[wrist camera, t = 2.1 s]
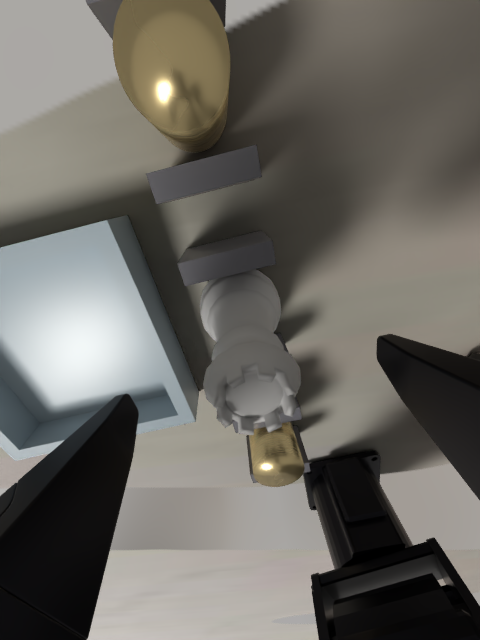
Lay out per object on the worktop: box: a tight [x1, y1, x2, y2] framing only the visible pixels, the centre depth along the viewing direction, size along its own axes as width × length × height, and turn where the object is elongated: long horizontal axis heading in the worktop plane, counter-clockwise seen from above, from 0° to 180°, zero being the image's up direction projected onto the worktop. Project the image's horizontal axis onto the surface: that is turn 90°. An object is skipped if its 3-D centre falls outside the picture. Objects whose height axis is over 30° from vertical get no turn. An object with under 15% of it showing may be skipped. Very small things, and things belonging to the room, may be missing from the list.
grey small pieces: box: [86, 0, 310, 483], centre depth 13 cm, size 24×4×3 cm, turn 13°
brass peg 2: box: [249, 421, 305, 487], centre depth 17 cm, size 3×3×4 cm
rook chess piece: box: [200, 269, 301, 435], centre depth 11 cm, size 4×4×8 cm
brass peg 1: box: [113, 0, 230, 153], centre depth 9 cm, size 3×3×4 cm
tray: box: [0, 215, 199, 461], centre depth 14 cm, size 12×12×2 cm
